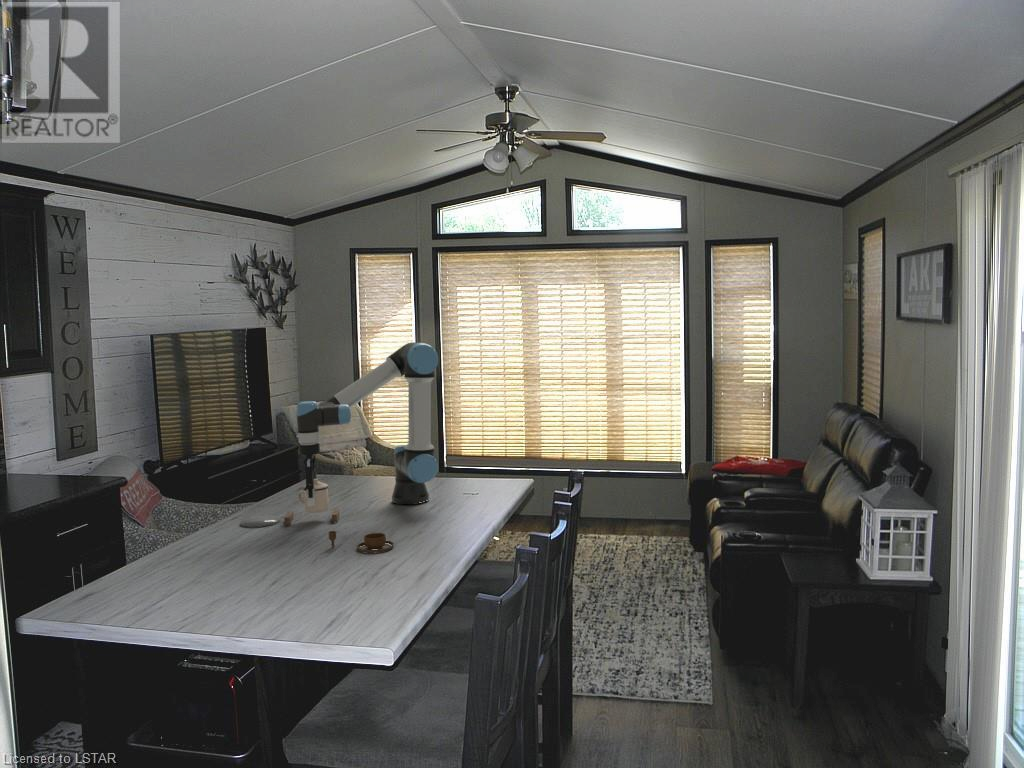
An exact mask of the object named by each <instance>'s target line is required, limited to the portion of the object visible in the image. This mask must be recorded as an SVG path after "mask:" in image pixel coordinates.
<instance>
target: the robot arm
mask: <svg viewBox="0 0 1024 768" xmlns="http://www.w3.org/2000/svg"><path fill="white" fill-rule="evenodd" d="M438 365H439V356H438V353H437V350H436V349H435V348H434V347H433V346H431V345H430V344H428V343H425V342H414V341H413V342H409V343H406V344H404V345H402V346H400V348H398V349H397V350H395V351H393V353H391V354H390V355H388V356H387V357H386V359H385V361H384V362H382V363H381V364H379V365H378V366H376V367H375V368H374V369H372V370H371V371H369V372H367V373H366V374H365V375H363V376H362V377H360V378H358V379H357V380H355V381H354V382H352V383H351V384H350V385H348V386H346V387H344V388H343V389H341V390H340V391H339V392H338V393H336V394H334V395H333V396H332V397H330V398H328V399H327V400H324V401H320V402H319V403H318V402H317V401H314V400H311V401H307V400H306V401H301V402H298V403H297V404H296V424H297V434H296V438H298V443H299V444H298V454H299V455H300V456H305V458H304V460H303V463H304V471H305V485H306V487H305V489H307V503H308V507H309V506H315V490H314V479H318V478H317V464H316V463H317V458H316V455H318V454H320V453H321V448H320V447H321V445H320V443H319V442H320V430H319V427H325V426H327V427H329V426H338V425H339V426H342V425H347V424H349V423H350V422H351V418H352V415H351V414H352V412H351V408H353V406H355V405H357V404H358V403H360V402H362V401H363V400H365V399H366V398H368V396H370V395H372V394H373V393H374V392H376V391H378V390H379V389H381V388H382V387H384V386H385V385H387V384H388V383H390V382H391V381H393V380H394V379H396V378H401V377H404V378H405V380H406V381H407V383H408V430H407V431H408V440H407V441H408V443H407V444H406V445H397V446H396V447H394V451H393V452H394V453H393V456H394V473H395V474H394V476H395V484H394V488H393V490H392V494H391V503H392V502H393V503H392V504H394V503H396V504H395V505H400V504H414V503H419V502H423V501H426V500H428V499H429V500H430V493H429V491H428V489H427V485H426V483H428V482H430V481H432V480H433V479H434V478H435V477H436V476H437V473H438V469H439V463H438V462H437V459H436V457H435V446H434V445H433V444H432V441H431V439H432V438H431V435H432V434H431V430H432V429H431V425H432V423H431V415H432V414H431V410H432V409H431V408H432V407H431V404H432V403H431V400H432V398H431V395H432V393H431V390H432V388H431V386H432V381H433V380H434V379H435V375H436V374H435V372H436V371H435V370H436V368H437V366H438ZM310 484H311V485H310ZM414 505H415V504H414Z"/></svg>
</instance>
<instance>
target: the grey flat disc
mask: <svg viewBox="0 0 1024 768" xmlns="http://www.w3.org/2000/svg"><path fill="white" fill-rule="evenodd" d="M278 522H279V523H280V522H281V517H280V516H276V515H271V514H269V515H256V516H255V515H254V516H251V517H247V518H244V519H242V520H240V526H241V527H244V526H247V527H246V528H252V527H254V528H261V527H260V526H266V527H268V526H267V525H271V526H274V525H273V524H275V525H277V524H279V523H278ZM276 523H277V524H276Z"/></svg>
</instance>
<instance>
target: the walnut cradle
mask: <svg viewBox="0 0 1024 768" xmlns="http://www.w3.org/2000/svg"><path fill="white" fill-rule="evenodd" d="M332 510H333V511H332V512H331V523H332V522H339V520H340V519H339V518H340V509H339V508H338V507H337V508H333V509H332ZM292 520H293V521H294V511H293V510H292V511H291V510H288V511H287V512H286V514H285V516H284V526H285V525H289V526H291V524H292V523H291V522H293V521H292Z"/></svg>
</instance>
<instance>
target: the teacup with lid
mask: <svg viewBox="0 0 1024 768" xmlns="http://www.w3.org/2000/svg"><path fill="white" fill-rule="evenodd" d="M310 485H311V484H310ZM305 487H306V484H305V485H304V486H303V488H302V490H299V491H298V493H297V499H298V501H299V502H300V503H301V504H304V511H305V512H306V513H322V512H325V511H328V510H329V509H330V505H329V502H330V501H329V491H328V490H329V485H328V484H327V483H324V482H322V481H319V479H318V478H317V479H314V490H315V506H309V507H308V503H307V489H305ZM302 493H303V494H304V500H303V499H302V497H301V494H302Z"/></svg>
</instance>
